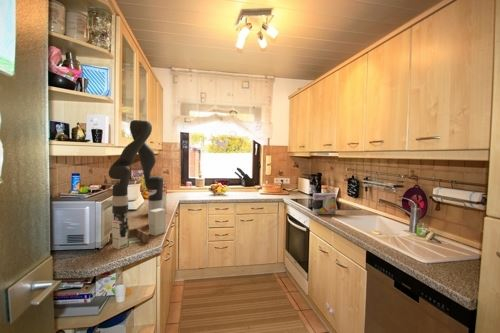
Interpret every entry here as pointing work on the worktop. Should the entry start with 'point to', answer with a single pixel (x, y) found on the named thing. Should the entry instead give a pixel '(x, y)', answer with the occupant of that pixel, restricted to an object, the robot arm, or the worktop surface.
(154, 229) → the skincare box
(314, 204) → the cake pan box
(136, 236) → the arena
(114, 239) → the syrup box
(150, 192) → the cracker box
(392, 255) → the worktop surface
